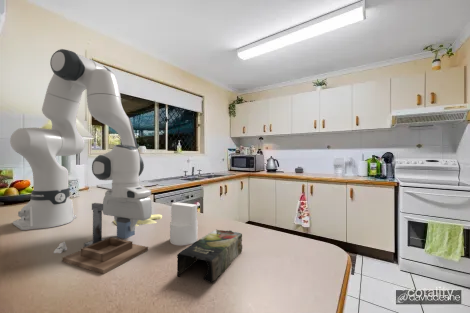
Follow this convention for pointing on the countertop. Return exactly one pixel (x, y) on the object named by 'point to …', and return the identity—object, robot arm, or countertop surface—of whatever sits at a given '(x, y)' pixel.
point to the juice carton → (212, 252)
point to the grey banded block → (124, 228)
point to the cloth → (148, 221)
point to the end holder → (105, 255)
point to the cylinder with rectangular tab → (183, 224)
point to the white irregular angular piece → (61, 248)
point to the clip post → (96, 223)
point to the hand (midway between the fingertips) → (125, 229)
